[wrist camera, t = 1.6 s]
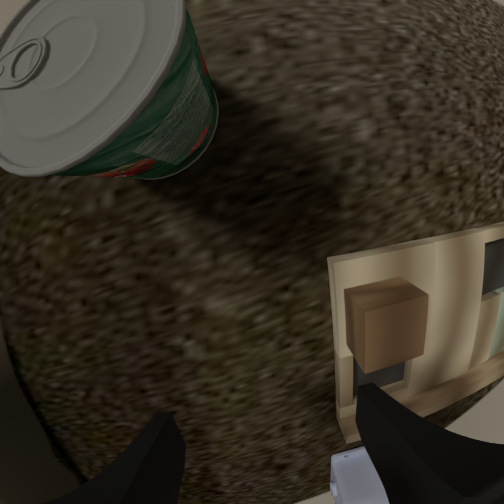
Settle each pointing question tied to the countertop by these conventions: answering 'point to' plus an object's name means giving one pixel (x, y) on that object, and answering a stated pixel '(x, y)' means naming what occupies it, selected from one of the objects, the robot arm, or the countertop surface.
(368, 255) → the wooden flat frame
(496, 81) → the countertop surface
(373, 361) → the block
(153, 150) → the canned tomato
